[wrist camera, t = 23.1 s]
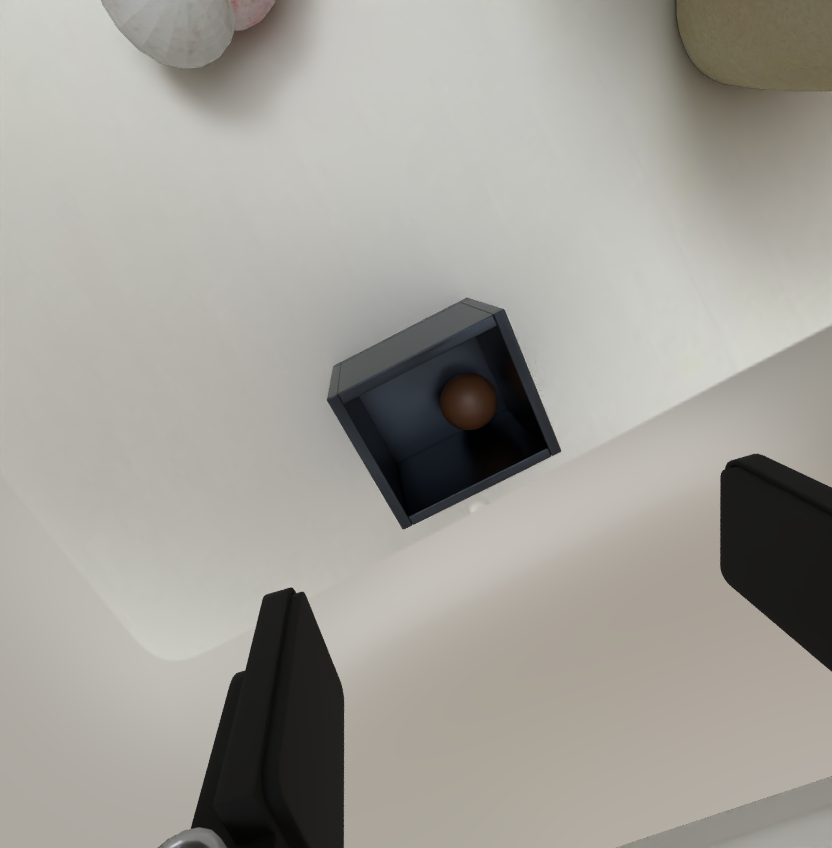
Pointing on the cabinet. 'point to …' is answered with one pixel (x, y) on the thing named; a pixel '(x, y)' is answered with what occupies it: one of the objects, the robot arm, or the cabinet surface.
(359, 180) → the cabinet surface
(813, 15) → the plant pot
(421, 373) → the waste bin
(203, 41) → the ice cream cone
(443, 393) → the ball
